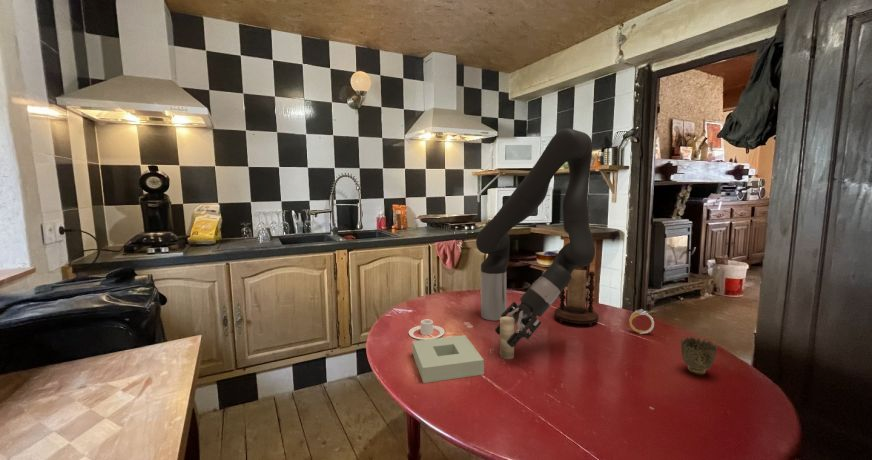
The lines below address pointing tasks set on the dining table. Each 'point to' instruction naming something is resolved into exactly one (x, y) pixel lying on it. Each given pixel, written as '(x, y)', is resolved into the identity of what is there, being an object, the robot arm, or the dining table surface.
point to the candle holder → (426, 329)
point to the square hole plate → (447, 358)
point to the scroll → (578, 300)
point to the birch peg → (506, 337)
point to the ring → (642, 312)
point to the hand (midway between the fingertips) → (502, 338)
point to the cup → (698, 354)
